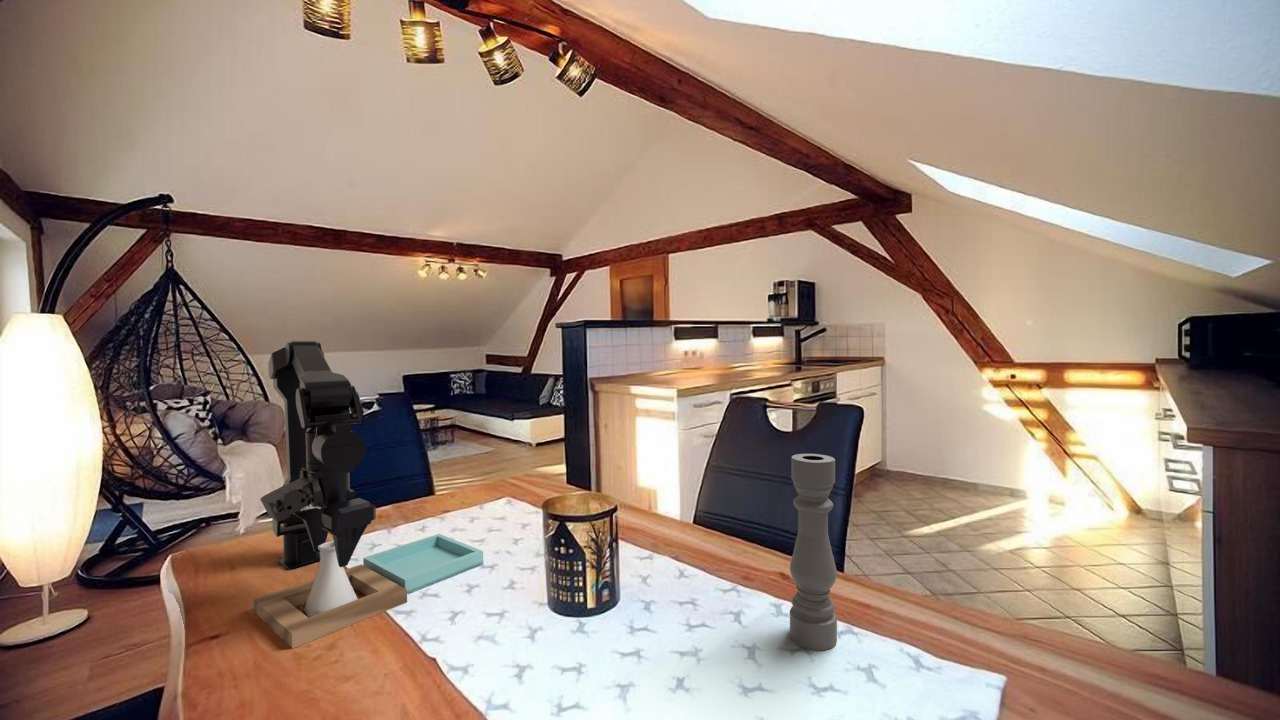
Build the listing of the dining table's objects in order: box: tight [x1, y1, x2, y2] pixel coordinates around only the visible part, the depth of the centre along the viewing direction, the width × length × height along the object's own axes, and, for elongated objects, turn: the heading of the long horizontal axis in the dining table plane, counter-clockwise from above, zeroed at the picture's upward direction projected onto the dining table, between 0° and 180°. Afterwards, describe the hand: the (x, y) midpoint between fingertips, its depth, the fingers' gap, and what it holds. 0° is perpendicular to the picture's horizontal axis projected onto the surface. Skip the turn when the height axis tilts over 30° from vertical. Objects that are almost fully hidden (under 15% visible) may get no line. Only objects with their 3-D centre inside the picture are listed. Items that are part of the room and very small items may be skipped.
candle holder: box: [789, 453, 838, 652], centre depth 71 cm, size 6×6×25 cm
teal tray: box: [362, 533, 484, 595], centre depth 95 cm, size 15×15×2 cm
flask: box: [303, 540, 359, 618], centre depth 81 cm, size 7×7×10 cm
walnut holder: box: [253, 564, 408, 649], centre depth 81 cm, size 16×16×2 cm
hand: (330, 558), depth 81 cm, fingers open, 9 cm apart
